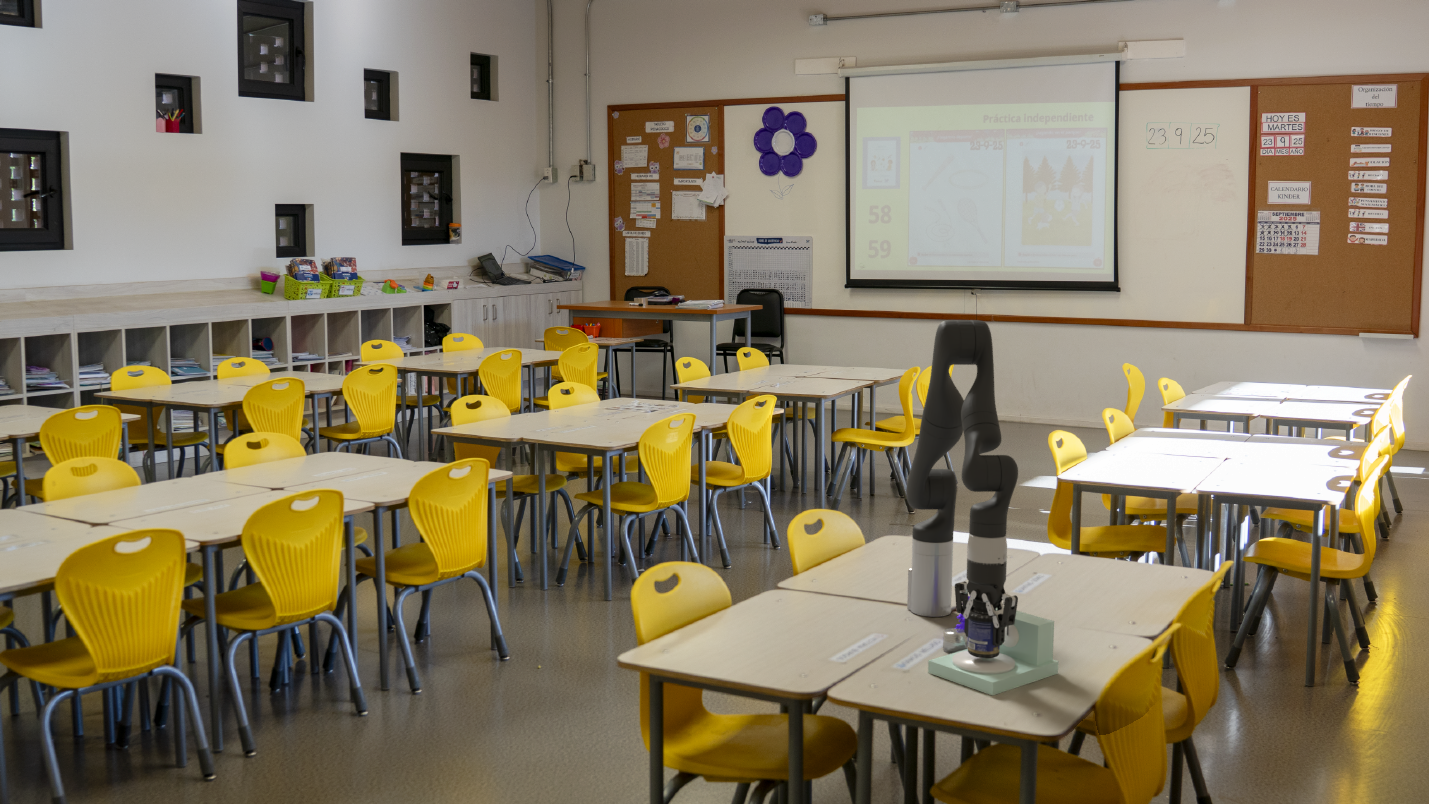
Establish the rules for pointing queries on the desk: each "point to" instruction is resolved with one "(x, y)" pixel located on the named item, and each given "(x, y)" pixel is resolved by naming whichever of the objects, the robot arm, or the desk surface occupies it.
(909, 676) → the desk surface
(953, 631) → the steel spacer
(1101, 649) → the desk surface
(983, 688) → the scale
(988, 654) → the pill bottle
